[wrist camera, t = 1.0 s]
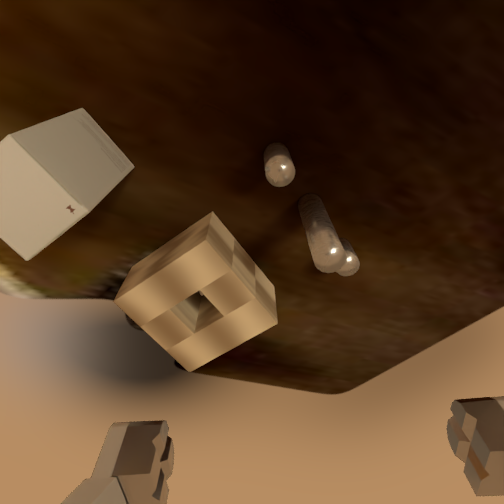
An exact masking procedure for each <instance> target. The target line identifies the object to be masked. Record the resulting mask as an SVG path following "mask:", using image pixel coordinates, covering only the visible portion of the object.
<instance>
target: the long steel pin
mask: <svg viewBox="0 0 504 504" xmlns="http://www.w3.org/2000/svg"><path fill="white" fill-rule="evenodd" d="M298 209H299V213H300V216H301V219H302V223H303V226H304V230H305V233H306V237H307V240H308V244H309V247H310V251H311V254H312V258H313V261H314V264H315V266H316V268H317V269H318V270H320V271H322V272H325V273H332V272H335V271H338V270H339V269H341V268H342V267H343V265H344V264H345V262H346V253H345V251H344V249H343V246H342V244H341V242H340V240H339V238H338V235H337V233H336V231H335V229H334V227H333V224H332V222H331V220H330V218H329V216H328V213H327V211H326V209H325V207H324V205H323V203H322V200H321V198H320V197H319V196H318V195H316V194H314V193H307V194H305V195H303V196H302V197H301V198H300V199H299V201H298Z"/></svg>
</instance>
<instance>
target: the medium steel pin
mask: <svg viewBox="0 0 504 504" xmlns="http://www.w3.org/2000/svg"><path fill="white" fill-rule="evenodd" d="M264 166H265V174H266V178H267V180H268V182H269V183H270V184H272V185H274V186H277V187H283V186H286V185H288V184H289V183H290V182H291V181H292V180H293V178H294V176H295V168H294V165H293V162H292V159H291V156H290V154H289V151H288V149H287V147H286V146H285V145H284V144H282V143H278V142H275V143H271V144H270V145H268V146H267V147H266V149H265V151H264Z"/></svg>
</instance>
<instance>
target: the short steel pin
mask: <svg viewBox="0 0 504 504" xmlns="http://www.w3.org/2000/svg"><path fill="white" fill-rule="evenodd" d="M339 240H340V242H341V244H342V246H343V249H344V251H345V253H346V262H345V264H344V265H343V267H342V268H341V269H339V270H338V271H336V272H337V273H338V274H339V275H342V276H350V275H353V274H354V273H356V272H357V270H358V269H359V266H360V262H359V260H358V258H357V256H356V254H355V252H354V250H353V248H352V246H351V244H350V242H349V241H348V240H347V239H345V238H339Z"/></svg>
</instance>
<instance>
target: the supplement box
mask: <svg viewBox="0 0 504 504" xmlns="http://www.w3.org/2000/svg"><path fill="white" fill-rule="evenodd" d="M134 168H135V166H134V165H133V164H132V163H131V162H130V160H129V159H128V158H127V157H126V156H125V155H124V154H123V152H122V151H121V150H120V149H119V148H118V147H117V145H116V144H115V143H114V142H113V141H112V140H111V139H110V138H109V136H108V135H107V134H106V133H105V132H104V131H103V130H102V129H101V127H100V126H99V125H98V124H97V123H96V122H95V121H94V120H93V118H92V117H91V116H90V115H89V114H88V113H87V112H86V111H85V110H84V109H83V108H80V109H77V110H74V111H71V112H69V113H66V114H64V115H61V116H58V117H55V118H53V119H50V120H47V121H45V122H42V123H39V124H37V125H34V126H31V127H29V128H26V129H23V130H20V131H17V132H15V133H12V134H9V135H7V136H6V137H5V138H4V139H3V140H2V141H0V238H1V239H2V240H3V241H4V242H6V243H7V244H8V245H9V246H10V247H11V248H12V249H13V250H14V251H16V252H17V253H18V254H19V255H20V256H21V257H22V258H23V259H24V260H26V261H28V260H30V259H32V258H33V257H34V256H35V255H37V254H38V253H39V252H40V251H42V250H43V249H44V248H45V247H47V246H48V245H49V244H50V243H52V242H53V241H54V240H55V239H57V238H58V237H60V236H61V235H62V234H63V233H64V232H65V231H67V230H68V229H69V228H70V227H72V226H73V225H74V224H76V223H77V222H78V221H79V220H81V219H82V218H83V217H84V216H86V215H87V214H88V213H90V211H91V210H92V209H93V208H94V207H95V206H96V205H97V204H98V203H99V202H100V201H101V200H102V199H103V198H104V197H105V196H106V195H107V194H108V193H109V192H110V191H111V190H112V189H113V188H114V187H115V186H116V185H117V184H118V183H119V182H120V181H121V180H122V179H123V178H124V177H125V176H126V175H127V174H128V173H129V172H130V171H131V170H132V169H134Z"/></svg>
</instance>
